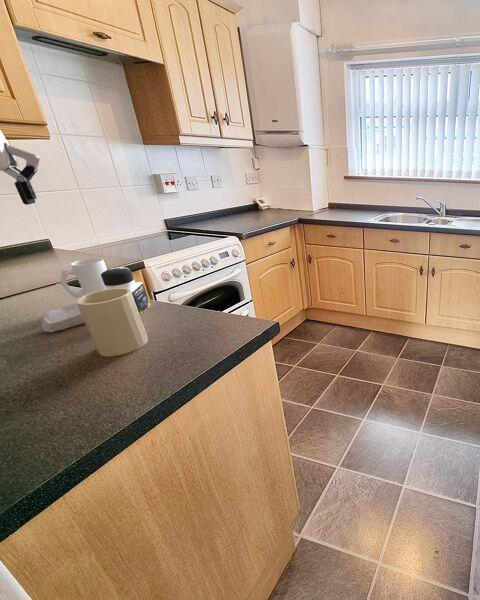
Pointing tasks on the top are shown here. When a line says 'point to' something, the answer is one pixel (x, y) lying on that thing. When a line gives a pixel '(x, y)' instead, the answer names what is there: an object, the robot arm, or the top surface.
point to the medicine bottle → (127, 285)
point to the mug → (85, 276)
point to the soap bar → (62, 318)
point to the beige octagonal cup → (113, 321)
